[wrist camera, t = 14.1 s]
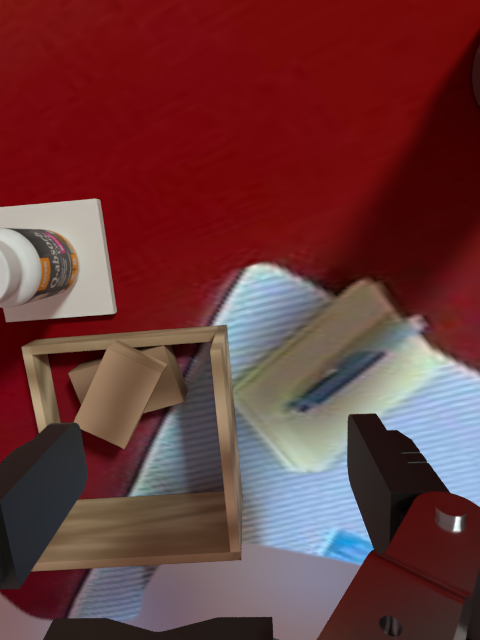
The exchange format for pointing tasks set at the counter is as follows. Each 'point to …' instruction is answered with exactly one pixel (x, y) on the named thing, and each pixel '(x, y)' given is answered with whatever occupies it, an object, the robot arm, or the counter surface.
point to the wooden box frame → (157, 510)
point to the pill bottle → (35, 265)
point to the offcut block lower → (166, 391)
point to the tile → (90, 243)
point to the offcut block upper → (119, 393)
